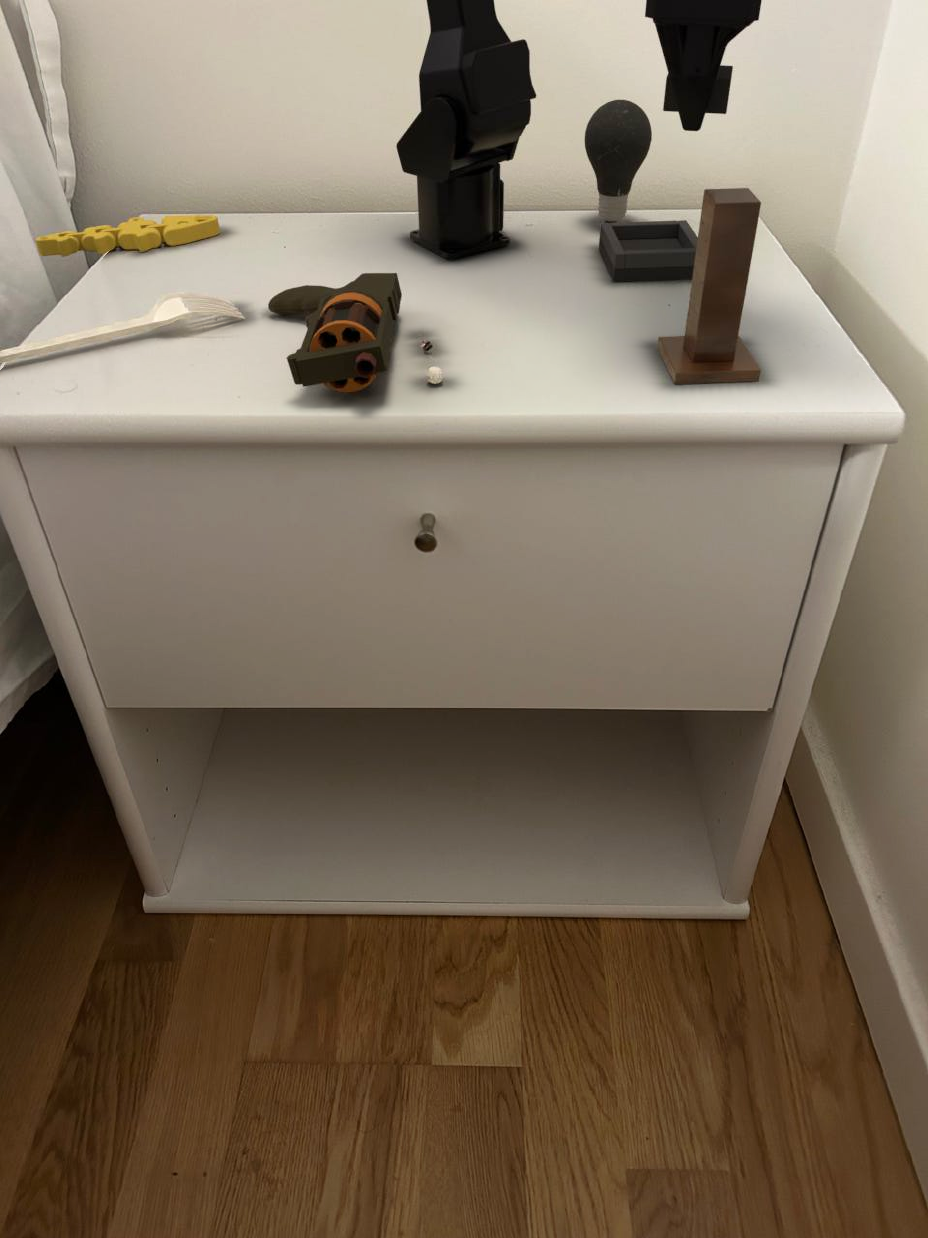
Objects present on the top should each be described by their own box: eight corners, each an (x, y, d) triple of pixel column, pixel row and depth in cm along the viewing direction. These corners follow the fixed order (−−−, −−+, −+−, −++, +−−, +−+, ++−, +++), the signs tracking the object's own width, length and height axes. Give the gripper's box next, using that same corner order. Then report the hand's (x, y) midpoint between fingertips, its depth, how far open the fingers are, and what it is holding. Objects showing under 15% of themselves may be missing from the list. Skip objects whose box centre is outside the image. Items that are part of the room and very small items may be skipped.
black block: (662, 111, 65) (666, 76, 64) (667, 96, 68) (671, 62, 67) (726, 114, 64) (731, 79, 63) (728, 98, 67) (733, 65, 66)
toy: (41, 242, 88) (39, 262, 84) (36, 226, 87) (34, 246, 83) (217, 224, 91) (223, 243, 87) (215, 208, 90) (220, 227, 86)
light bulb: (653, 229, 88) (667, 104, 82) (594, 237, 87) (603, 111, 81) (626, 209, 93) (637, 89, 86) (569, 216, 91) (576, 95, 85)
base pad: (613, 281, 80) (615, 253, 78) (598, 249, 85) (600, 222, 84) (703, 278, 80) (707, 250, 78) (683, 246, 85) (686, 219, 84)
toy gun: (215, 357, 61) (375, 327, 60) (263, 267, 75) (394, 241, 74) (239, 426, 64) (393, 399, 63) (282, 327, 78) (408, 303, 77)
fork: (-44, 371, 66) (-35, 395, 68) (244, 298, 73) (247, 321, 75) (-54, 347, 68) (-44, 372, 70) (228, 279, 75) (232, 302, 77)
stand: (674, 384, 66) (697, 211, 59) (657, 347, 70) (676, 182, 63) (759, 381, 66) (792, 208, 59) (736, 344, 71) (764, 179, 64)
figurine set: (447, 379, 66) (433, 389, 66) (432, 333, 72) (419, 342, 73) (436, 364, 65) (422, 375, 66) (421, 319, 72) (409, 328, 72)
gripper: (895, -173, 48) (824, 170, 58) (870, -186, 62) (816, 93, 72) (660, -172, 50) (631, 159, 60) (687, -185, 64) (659, 86, 74)
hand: (693, 121), depth 67 cm, fingers closed on black block, 4 cm apart
